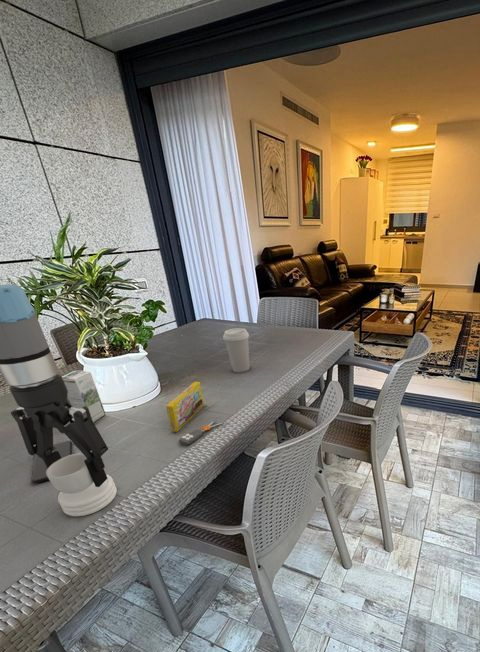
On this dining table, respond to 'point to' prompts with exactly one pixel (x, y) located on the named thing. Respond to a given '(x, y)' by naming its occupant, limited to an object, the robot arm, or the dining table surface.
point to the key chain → (195, 434)
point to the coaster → (88, 499)
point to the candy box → (185, 406)
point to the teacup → (70, 474)
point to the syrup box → (83, 393)
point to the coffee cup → (237, 348)
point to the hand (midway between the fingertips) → (82, 481)
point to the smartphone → (40, 466)
